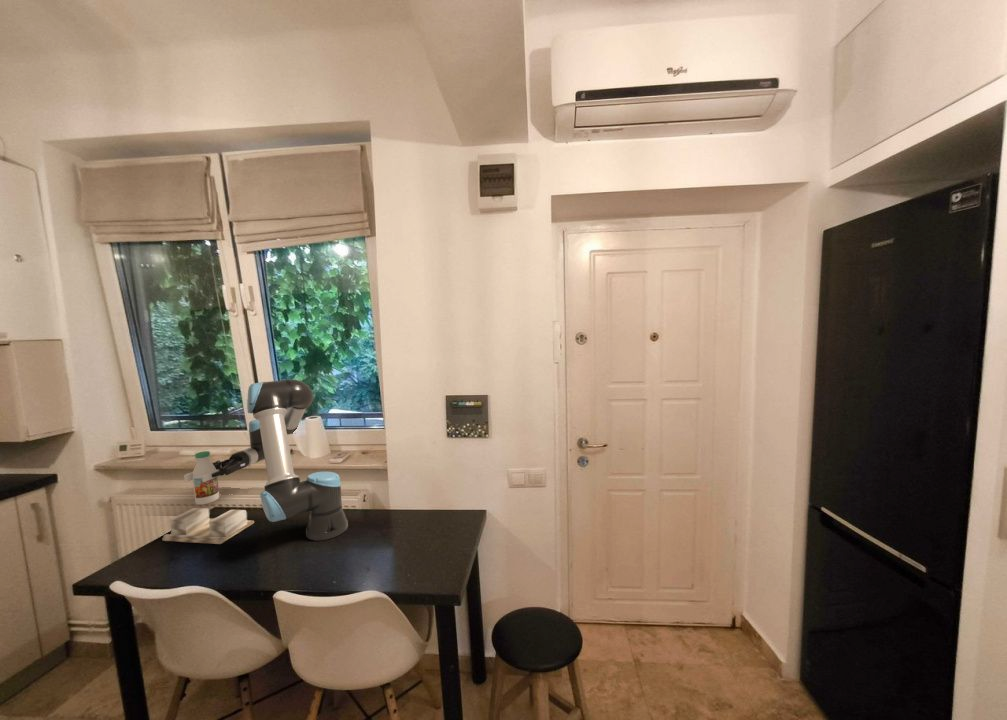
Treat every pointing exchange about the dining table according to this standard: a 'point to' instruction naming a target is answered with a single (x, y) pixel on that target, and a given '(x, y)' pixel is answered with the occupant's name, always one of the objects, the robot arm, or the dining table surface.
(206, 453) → the milk bottle
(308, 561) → the dining table surface
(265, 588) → the dining table surface
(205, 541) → the rail board
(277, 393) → the robot arm
